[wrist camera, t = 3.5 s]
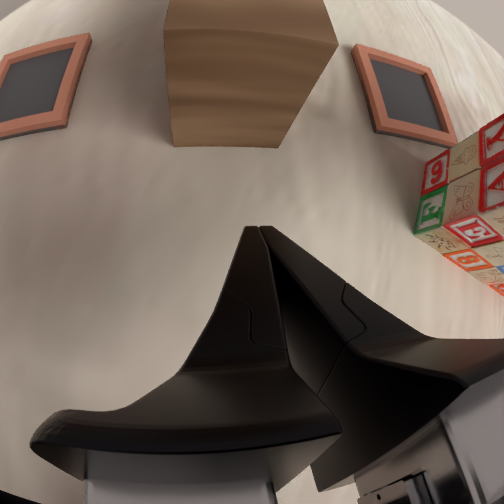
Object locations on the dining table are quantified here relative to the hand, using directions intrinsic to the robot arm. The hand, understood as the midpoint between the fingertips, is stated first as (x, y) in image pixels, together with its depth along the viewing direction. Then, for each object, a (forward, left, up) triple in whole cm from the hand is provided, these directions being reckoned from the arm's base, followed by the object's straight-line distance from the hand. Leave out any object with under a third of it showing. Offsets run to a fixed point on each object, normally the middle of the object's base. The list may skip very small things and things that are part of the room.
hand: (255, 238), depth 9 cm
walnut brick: (+8, -11, -7) cm, 15 cm away
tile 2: (-4, -18, -7) cm, 20 cm away
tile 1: (+19, -2, -7) cm, 20 cm away
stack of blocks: (-19, -13, -7) cm, 24 cm away
